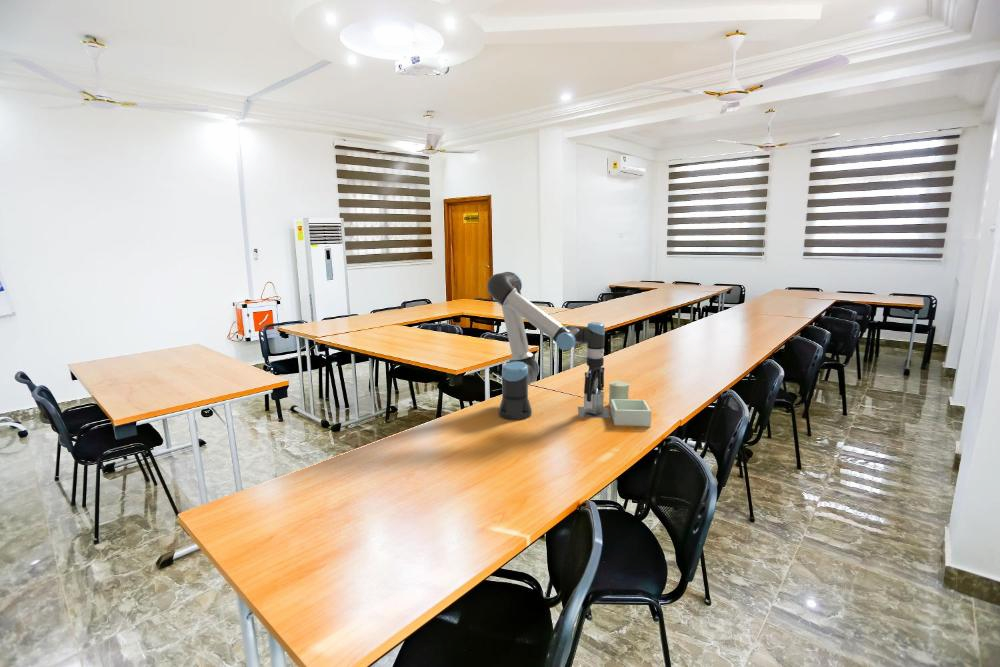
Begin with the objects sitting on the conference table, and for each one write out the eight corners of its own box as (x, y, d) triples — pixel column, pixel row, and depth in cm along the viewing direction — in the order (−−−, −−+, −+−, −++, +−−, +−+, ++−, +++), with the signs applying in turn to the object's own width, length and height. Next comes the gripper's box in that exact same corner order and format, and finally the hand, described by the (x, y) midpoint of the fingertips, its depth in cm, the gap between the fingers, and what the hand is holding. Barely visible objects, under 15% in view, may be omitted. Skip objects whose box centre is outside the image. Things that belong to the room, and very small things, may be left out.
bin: (614, 425, 212) (615, 410, 211) (610, 413, 227) (611, 399, 225) (650, 426, 210) (651, 411, 209) (644, 414, 225) (644, 399, 224)
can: (604, 405, 238) (605, 381, 236) (620, 402, 242) (620, 378, 240) (616, 411, 230) (617, 386, 228) (632, 408, 234) (633, 383, 231)
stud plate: (579, 417, 222) (579, 400, 220) (577, 407, 235) (577, 391, 234) (611, 418, 220) (611, 401, 219) (607, 408, 234) (608, 391, 232)
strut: (596, 414, 223) (597, 380, 220) (583, 411, 227) (584, 377, 224) (603, 410, 228) (604, 377, 225) (591, 407, 232) (592, 374, 229)
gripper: (591, 362, 213) (589, 413, 218) (613, 354, 228) (611, 402, 232) (576, 359, 218) (575, 409, 222) (598, 351, 232) (597, 398, 237)
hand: (593, 405), depth 227 cm, fingers closed on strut, 6 cm apart
